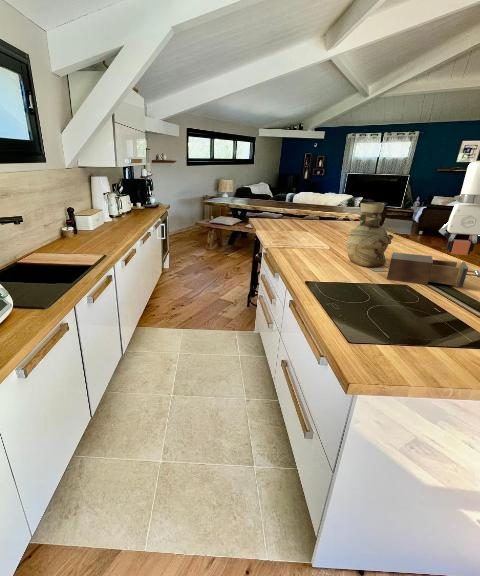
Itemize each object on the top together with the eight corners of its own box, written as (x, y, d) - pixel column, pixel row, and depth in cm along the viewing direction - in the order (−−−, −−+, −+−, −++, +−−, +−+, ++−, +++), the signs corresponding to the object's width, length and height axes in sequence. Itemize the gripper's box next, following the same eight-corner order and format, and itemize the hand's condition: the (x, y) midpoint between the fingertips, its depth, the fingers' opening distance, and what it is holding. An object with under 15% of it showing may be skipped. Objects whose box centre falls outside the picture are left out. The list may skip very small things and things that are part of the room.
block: (465, 252, 112) (468, 240, 111) (467, 255, 109) (470, 242, 107) (449, 251, 115) (453, 239, 113) (451, 253, 111) (454, 241, 110)
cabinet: (426, 277, 139) (432, 256, 136) (427, 285, 130) (433, 263, 126) (388, 272, 147) (392, 252, 144) (386, 279, 137) (391, 258, 134)
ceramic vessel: (395, 269, 151) (409, 205, 140) (348, 267, 155) (358, 205, 145) (382, 259, 168) (394, 201, 158) (340, 257, 173) (348, 201, 162)
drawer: (474, 281, 130) (480, 263, 127) (478, 290, 121) (484, 270, 118) (420, 274, 140) (425, 257, 137) (421, 281, 131) (425, 264, 128)
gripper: (443, 200, 107) (429, 252, 113) (510, 201, 98) (492, 258, 104) (441, 198, 113) (428, 248, 119) (504, 199, 104) (487, 253, 110)
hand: (458, 252), depth 112 cm, fingers closed on block, 4 cm apart
